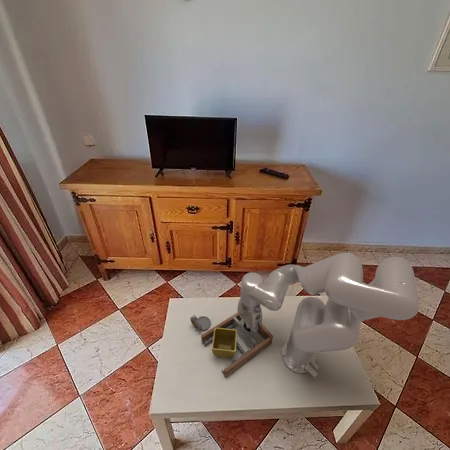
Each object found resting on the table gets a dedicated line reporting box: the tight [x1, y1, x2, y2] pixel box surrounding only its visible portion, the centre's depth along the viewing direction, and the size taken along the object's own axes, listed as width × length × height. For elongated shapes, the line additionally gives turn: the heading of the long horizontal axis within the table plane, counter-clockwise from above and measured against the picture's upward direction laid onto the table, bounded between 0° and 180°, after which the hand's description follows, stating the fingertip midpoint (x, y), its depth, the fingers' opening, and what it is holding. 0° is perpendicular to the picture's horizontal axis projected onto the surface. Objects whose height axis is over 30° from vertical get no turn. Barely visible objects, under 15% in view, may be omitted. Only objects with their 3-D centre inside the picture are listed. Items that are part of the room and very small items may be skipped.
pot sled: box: [203, 315, 257, 375], centre depth 101 cm, size 14×15×7 cm
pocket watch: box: [189, 314, 212, 332], centre depth 108 cm, size 8×8×10 cm
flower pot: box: [211, 328, 238, 359], centre depth 100 cm, size 9×9×9 cm
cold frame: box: [200, 312, 274, 379], centre depth 103 cm, size 17×23×6 cm
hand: (247, 329), depth 105 cm, fingers closed
